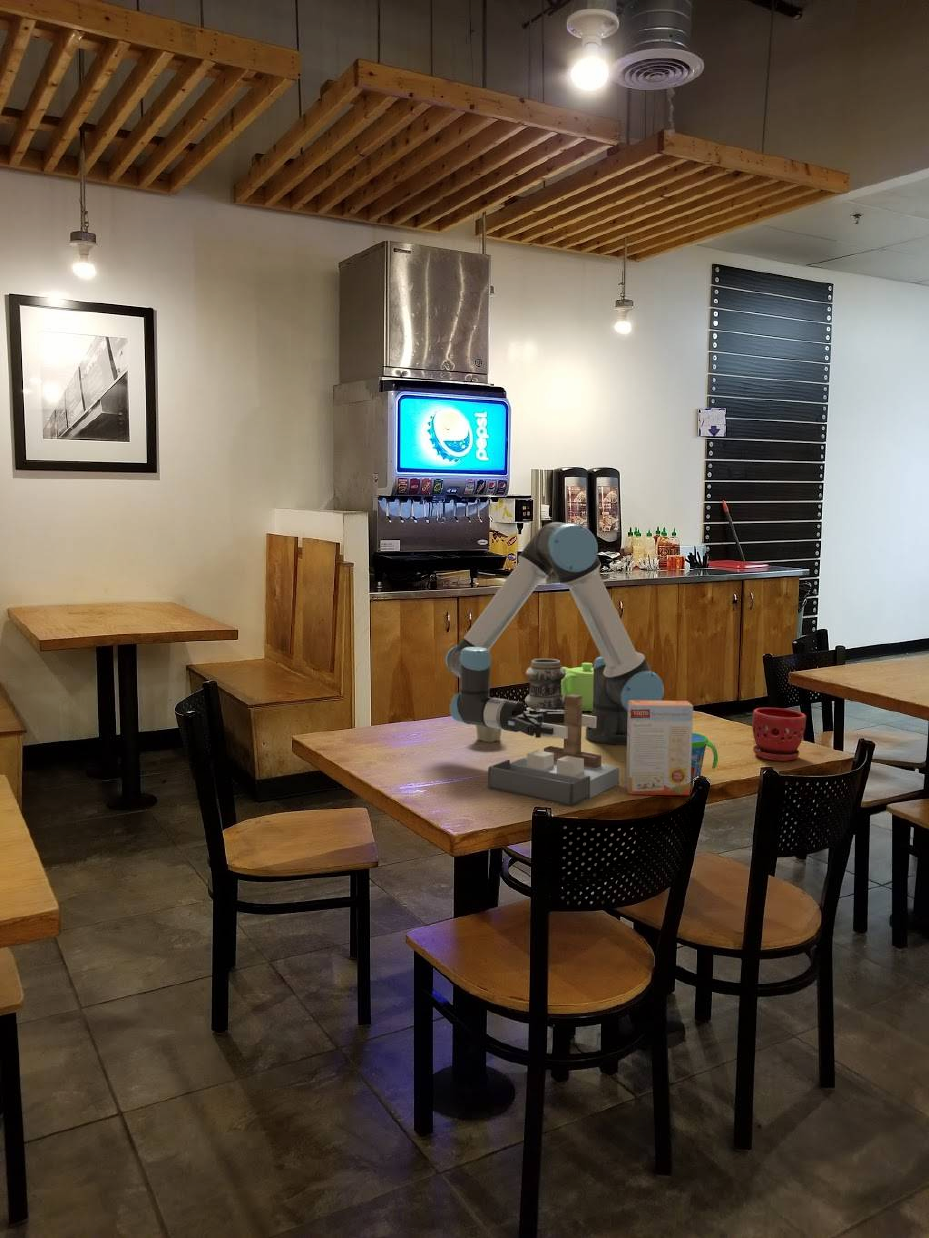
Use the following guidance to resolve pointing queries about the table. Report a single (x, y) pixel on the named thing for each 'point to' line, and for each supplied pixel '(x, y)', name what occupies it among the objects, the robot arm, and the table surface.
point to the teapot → (579, 684)
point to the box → (537, 785)
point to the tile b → (570, 765)
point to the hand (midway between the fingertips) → (581, 727)
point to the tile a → (540, 759)
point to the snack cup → (700, 754)
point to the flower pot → (488, 734)
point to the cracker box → (659, 747)
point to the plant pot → (778, 733)
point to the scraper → (574, 734)
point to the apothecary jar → (545, 684)
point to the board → (599, 776)
